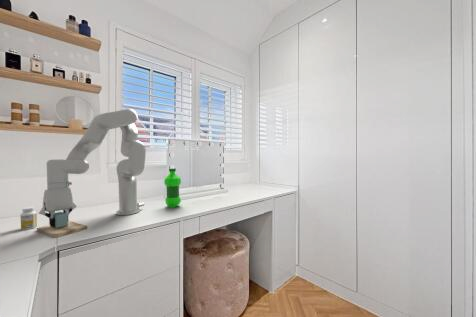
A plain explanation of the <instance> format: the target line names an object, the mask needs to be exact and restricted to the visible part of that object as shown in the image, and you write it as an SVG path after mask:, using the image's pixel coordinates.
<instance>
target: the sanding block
mask: <svg viewBox="0 0 476 317" xmlns="http://www.w3.org/2000/svg"><path fill="white" fill-rule="evenodd" d="M54 218H55V227H53V228H56V229H59V228H63V227H67V226H68V221H69V215H68V213H64V212H63V211H55V214H54ZM49 225H50V224H49ZM50 227H52V226H51V225H50Z"/></svg>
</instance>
